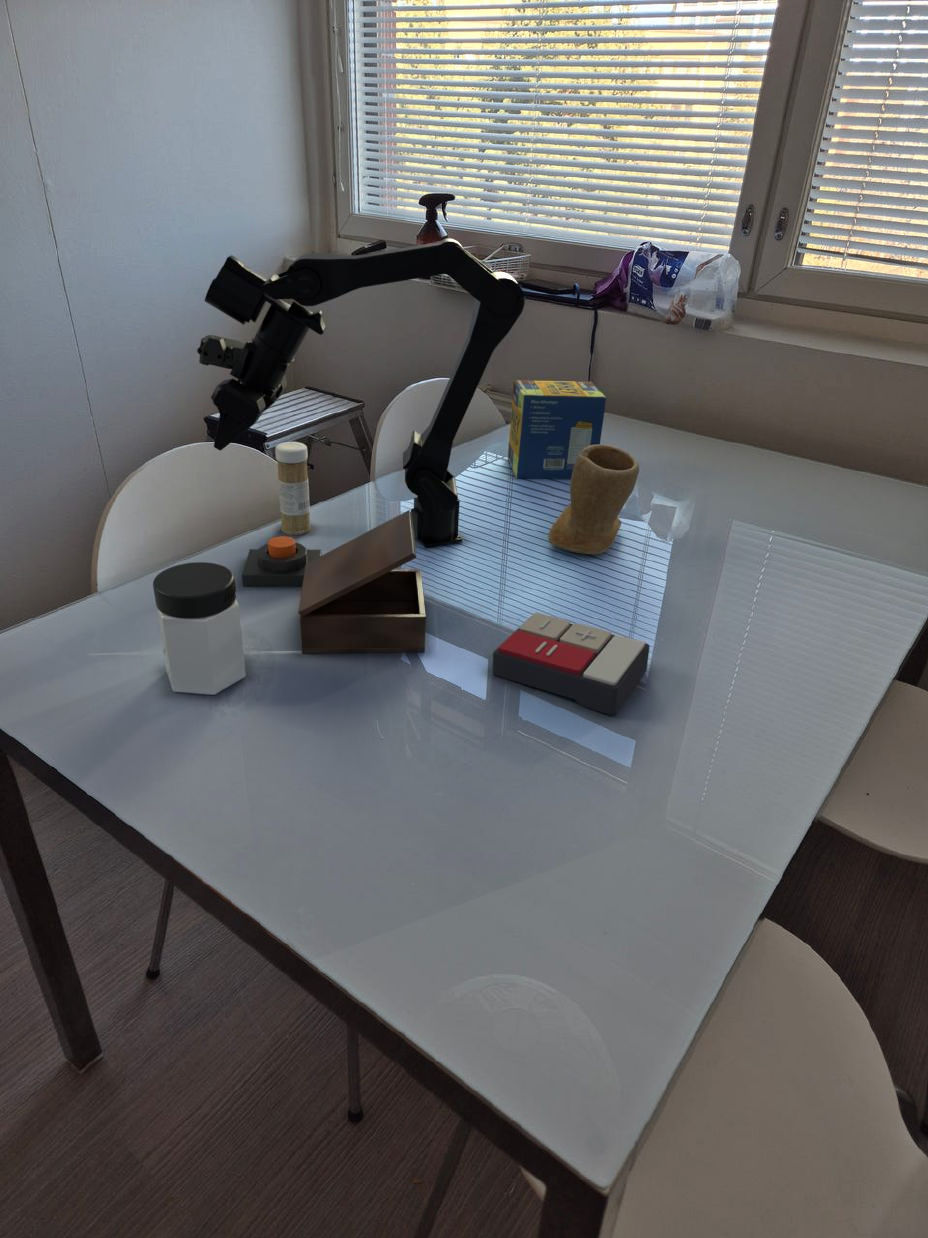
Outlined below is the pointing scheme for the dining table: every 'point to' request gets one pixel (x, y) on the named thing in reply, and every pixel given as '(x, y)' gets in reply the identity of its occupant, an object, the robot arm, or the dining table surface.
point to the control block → (276, 568)
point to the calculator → (573, 661)
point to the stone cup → (595, 500)
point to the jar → (199, 627)
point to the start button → (281, 547)
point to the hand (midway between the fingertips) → (226, 439)
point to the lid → (357, 562)
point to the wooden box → (370, 618)
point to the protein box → (553, 426)
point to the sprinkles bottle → (293, 487)
